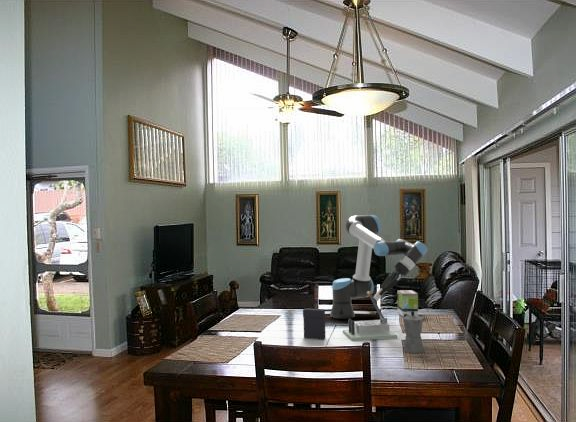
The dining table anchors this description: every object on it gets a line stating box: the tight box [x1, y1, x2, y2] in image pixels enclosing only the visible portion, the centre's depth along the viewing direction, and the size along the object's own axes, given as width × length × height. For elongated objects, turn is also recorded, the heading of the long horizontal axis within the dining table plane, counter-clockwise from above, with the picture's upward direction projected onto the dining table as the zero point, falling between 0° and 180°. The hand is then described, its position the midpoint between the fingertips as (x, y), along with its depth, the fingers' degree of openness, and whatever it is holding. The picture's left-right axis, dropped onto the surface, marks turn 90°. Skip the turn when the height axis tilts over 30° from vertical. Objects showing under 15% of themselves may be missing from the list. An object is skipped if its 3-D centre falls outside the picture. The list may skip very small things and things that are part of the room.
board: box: [342, 329, 398, 342], centre depth 257 cm, size 24×18×2 cm
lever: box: [367, 291, 385, 321], centre depth 258 cm, size 18×3×2 cm
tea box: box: [396, 289, 419, 318], centre depth 309 cm, size 15×10×15 cm, turn 179°
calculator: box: [302, 308, 327, 341], centre depth 253 cm, size 11×4×15 cm, turn 65°
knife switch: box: [347, 315, 391, 336], centre depth 257 cm, size 19×12×8 cm, turn 99°
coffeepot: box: [402, 311, 424, 354], centre depth 227 cm, size 15×9×18 cm, turn 13°
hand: (375, 299), depth 257 cm, fingers closed
